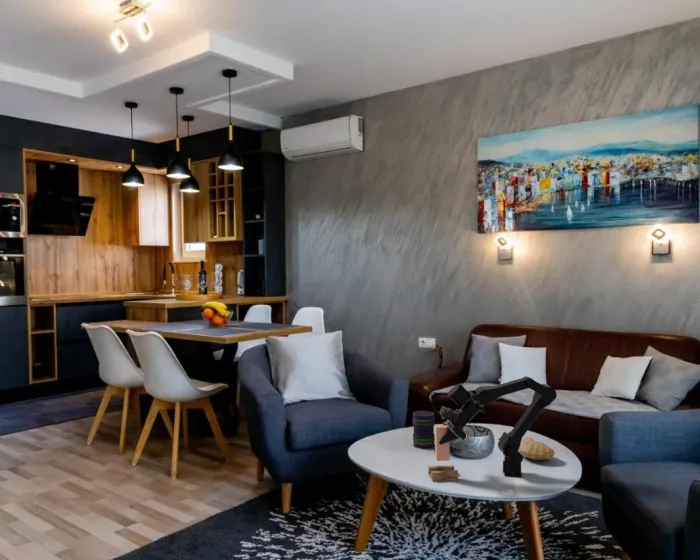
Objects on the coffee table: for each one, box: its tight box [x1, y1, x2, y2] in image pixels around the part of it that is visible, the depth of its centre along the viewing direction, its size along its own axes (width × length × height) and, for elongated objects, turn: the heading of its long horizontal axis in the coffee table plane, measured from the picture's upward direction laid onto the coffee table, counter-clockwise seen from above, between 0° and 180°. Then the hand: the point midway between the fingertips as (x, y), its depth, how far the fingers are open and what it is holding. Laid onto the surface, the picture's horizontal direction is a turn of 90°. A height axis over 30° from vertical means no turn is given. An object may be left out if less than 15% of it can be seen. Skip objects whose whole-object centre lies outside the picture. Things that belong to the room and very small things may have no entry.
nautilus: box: [518, 435, 556, 461], centre depth 243 cm, size 8×22×15 cm
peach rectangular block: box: [434, 424, 451, 462], centre depth 221 cm, size 5×2×13 cm, turn 93°
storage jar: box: [412, 410, 435, 450], centre depth 260 cm, size 10×10×15 cm
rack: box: [427, 464, 459, 482], centre depth 221 cm, size 10×8×3 cm
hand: (438, 442), depth 221 cm, fingers closed on peach rectangular block, 2 cm apart
